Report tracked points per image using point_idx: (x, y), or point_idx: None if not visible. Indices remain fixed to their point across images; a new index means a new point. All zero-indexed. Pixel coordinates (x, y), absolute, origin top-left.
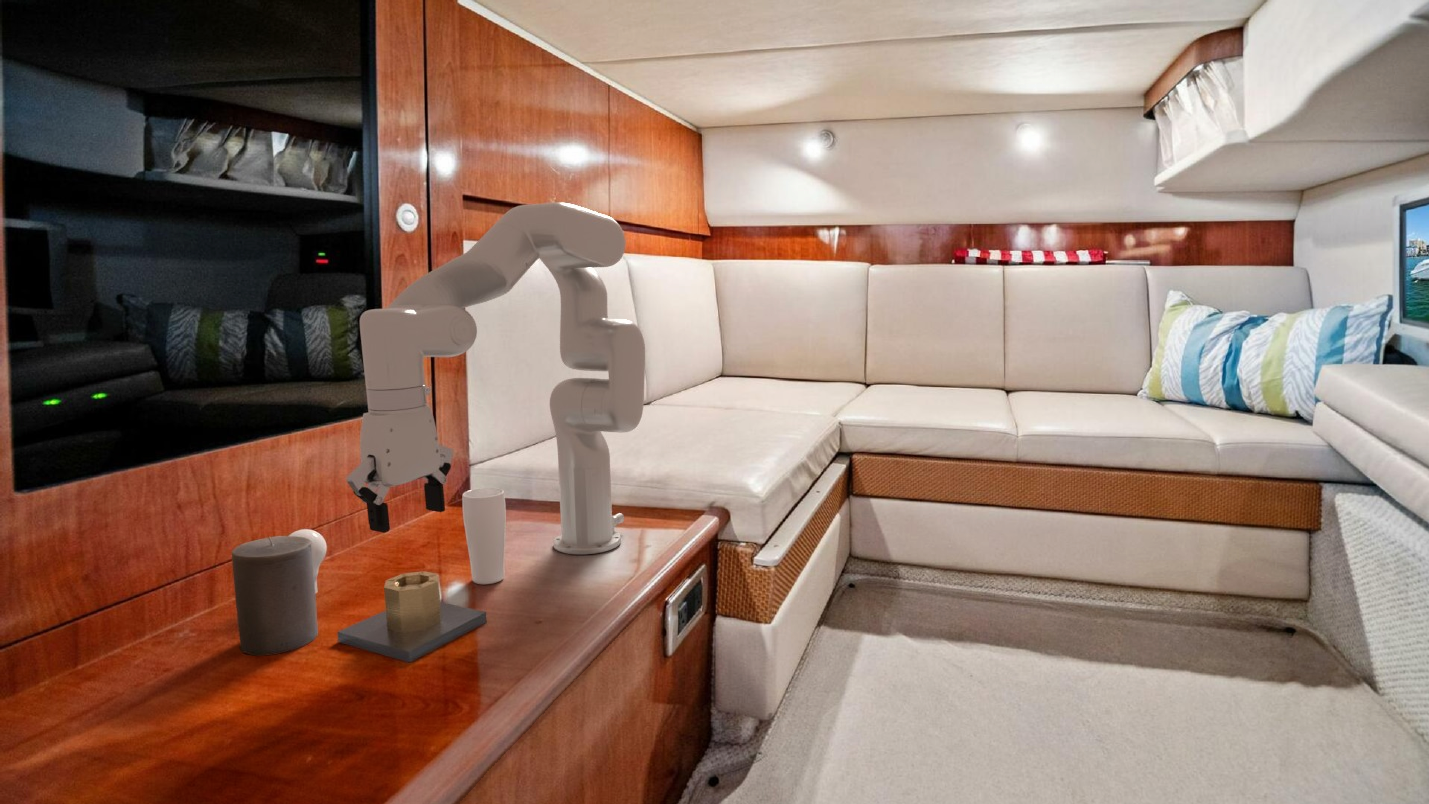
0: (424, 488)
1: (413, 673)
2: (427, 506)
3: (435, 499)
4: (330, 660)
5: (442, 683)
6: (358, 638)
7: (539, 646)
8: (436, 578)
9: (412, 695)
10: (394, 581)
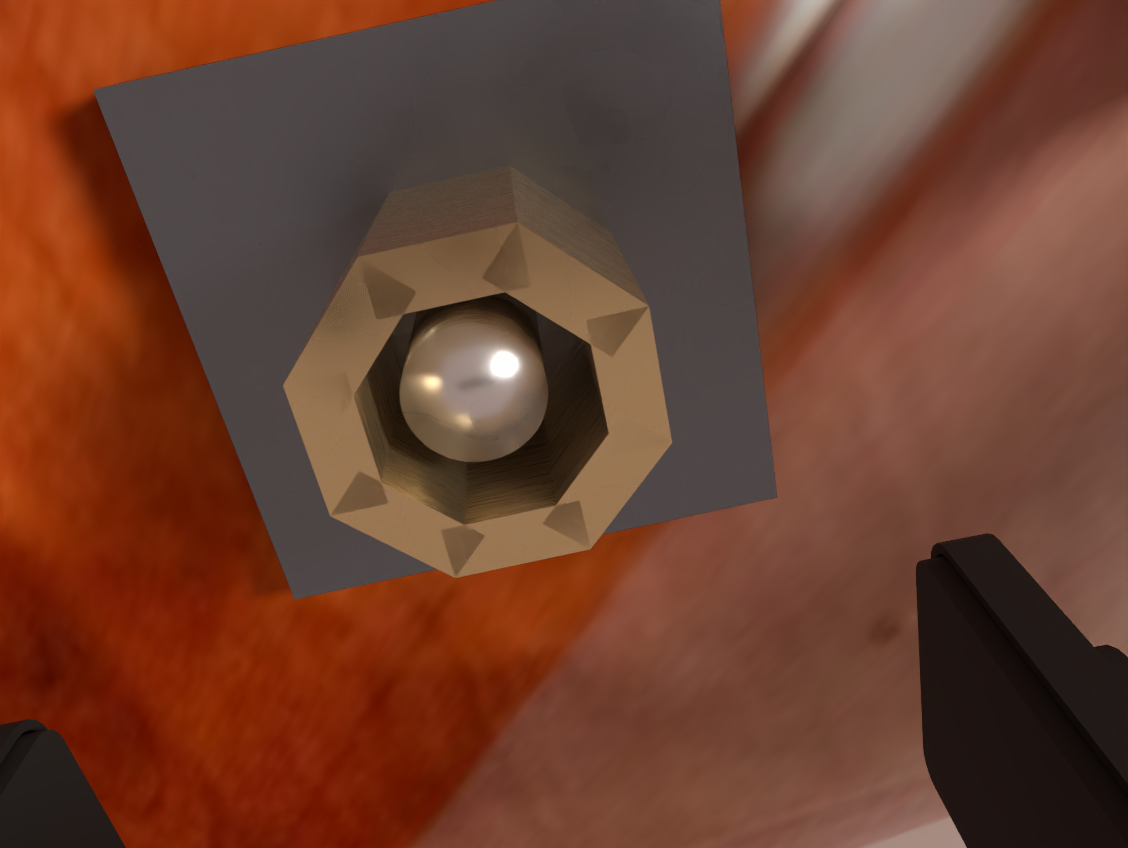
0: (1101, 807)
1: (275, 652)
2: (938, 605)
3: (1001, 841)
4: (23, 276)
5: (319, 777)
6: (167, 276)
7: (719, 786)
8: (616, 500)
9: (201, 778)
10: (392, 329)
